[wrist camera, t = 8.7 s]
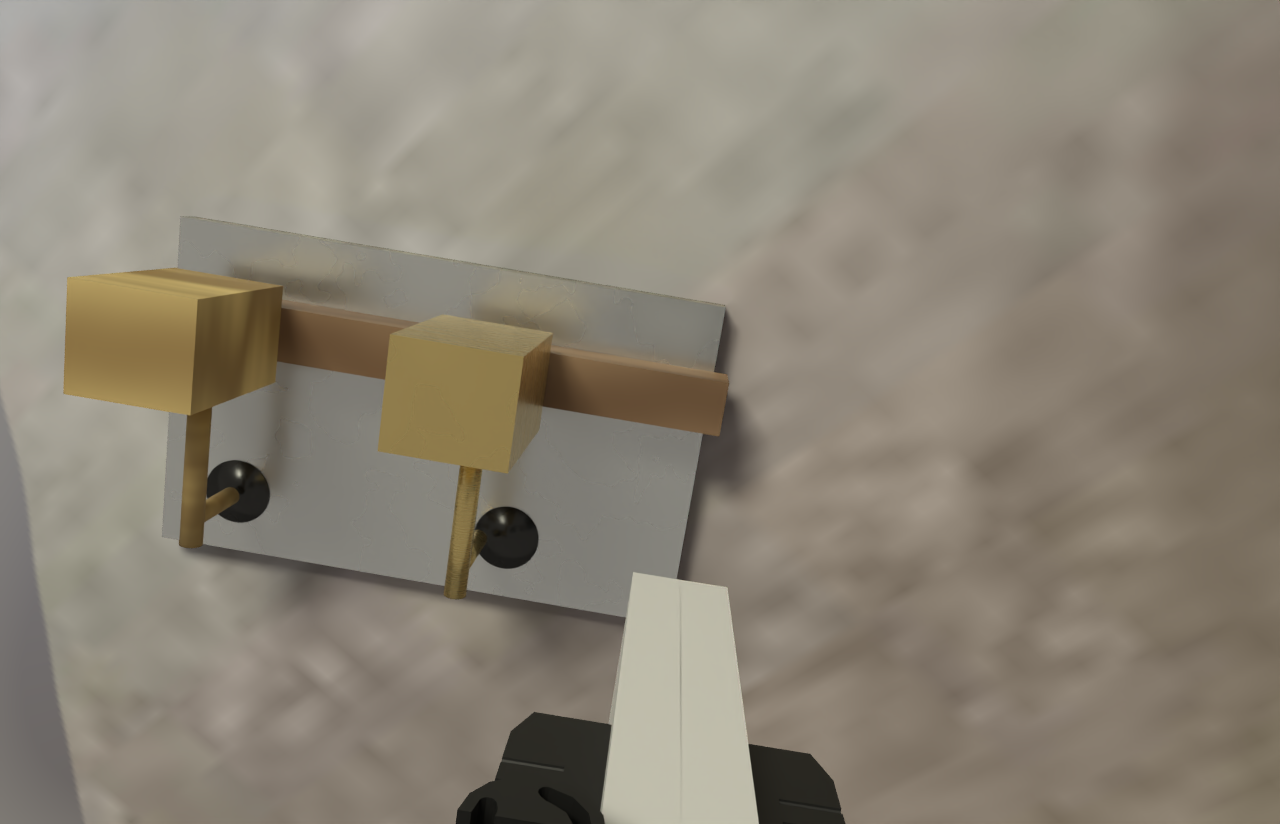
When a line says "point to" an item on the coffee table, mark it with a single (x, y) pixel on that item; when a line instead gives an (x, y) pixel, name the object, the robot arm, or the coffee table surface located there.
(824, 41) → the coffee table surface
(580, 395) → the beam
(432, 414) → the slider leg
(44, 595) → the coffee table surface
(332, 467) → the hole plate
